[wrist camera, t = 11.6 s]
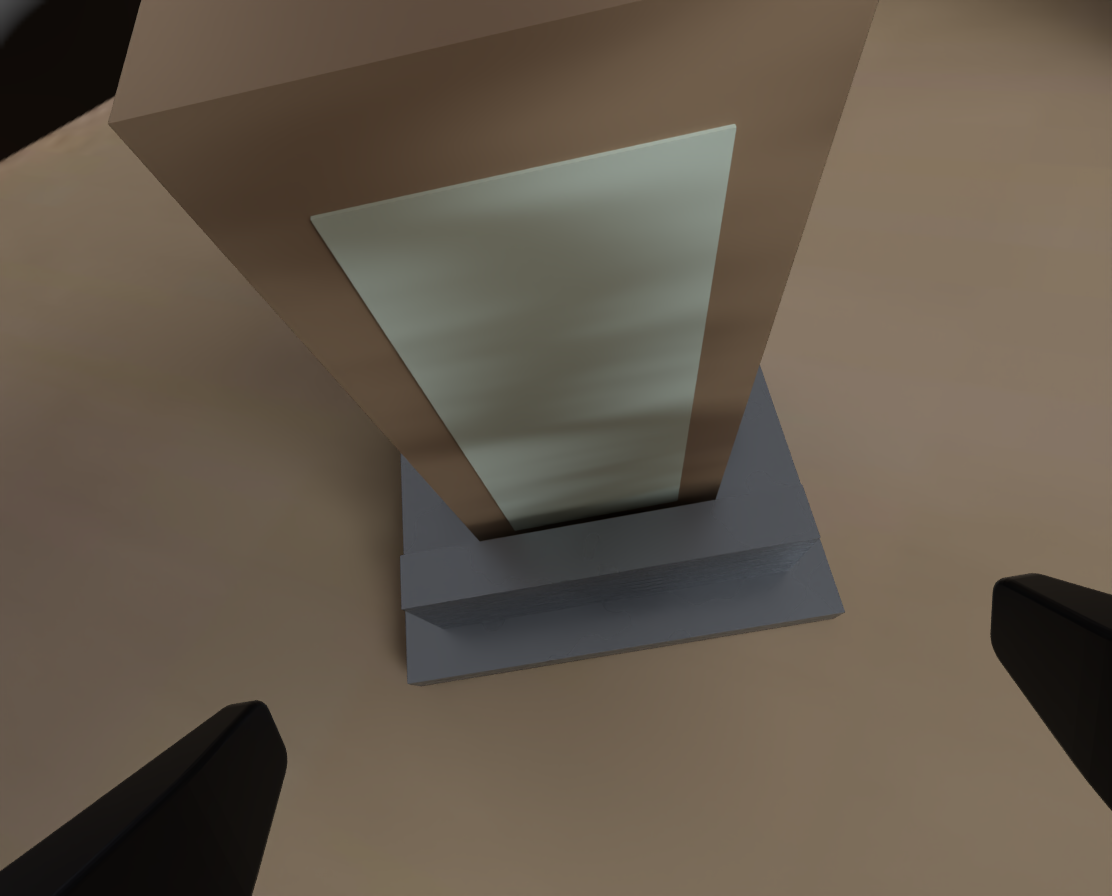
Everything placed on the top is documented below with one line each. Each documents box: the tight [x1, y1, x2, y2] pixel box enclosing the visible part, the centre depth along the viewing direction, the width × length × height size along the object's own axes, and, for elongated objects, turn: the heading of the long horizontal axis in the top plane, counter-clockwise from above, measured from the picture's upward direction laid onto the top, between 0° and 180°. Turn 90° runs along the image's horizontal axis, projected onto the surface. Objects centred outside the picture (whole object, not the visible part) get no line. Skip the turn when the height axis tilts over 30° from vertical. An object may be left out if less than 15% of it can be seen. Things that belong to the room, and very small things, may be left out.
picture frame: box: [108, 0, 879, 541], centre depth 11 cm, size 6×2×13 cm, turn 98°
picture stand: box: [400, 365, 845, 686], centre depth 16 cm, size 11×8×4 cm
